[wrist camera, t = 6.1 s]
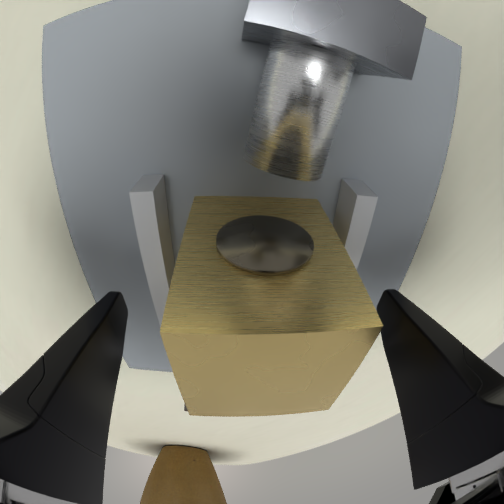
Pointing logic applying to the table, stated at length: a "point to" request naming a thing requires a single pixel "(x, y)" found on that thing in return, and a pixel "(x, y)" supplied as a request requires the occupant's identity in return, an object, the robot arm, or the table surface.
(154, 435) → the table surface
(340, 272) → the block
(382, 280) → the grey base plate
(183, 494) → the plant pot
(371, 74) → the shaft
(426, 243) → the table surface
